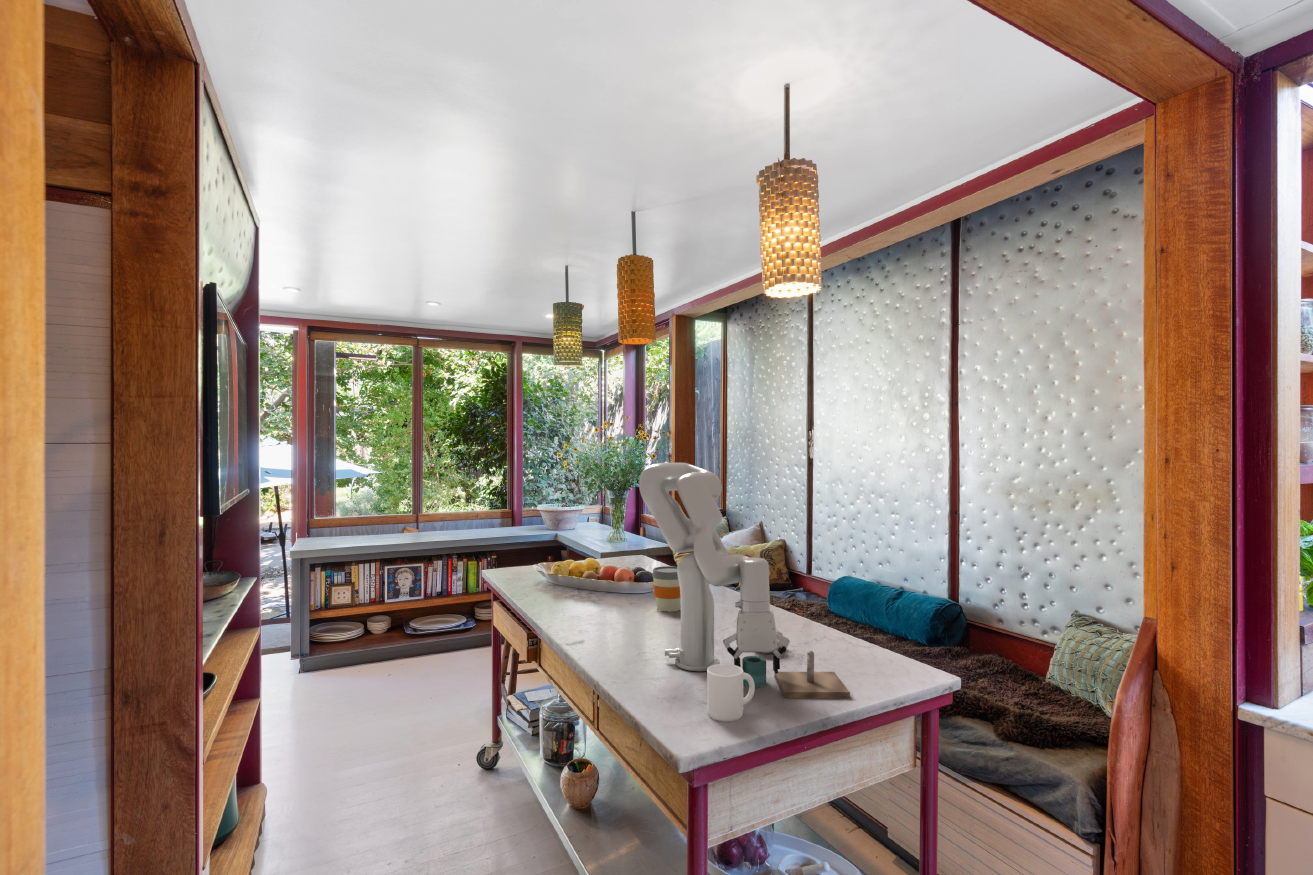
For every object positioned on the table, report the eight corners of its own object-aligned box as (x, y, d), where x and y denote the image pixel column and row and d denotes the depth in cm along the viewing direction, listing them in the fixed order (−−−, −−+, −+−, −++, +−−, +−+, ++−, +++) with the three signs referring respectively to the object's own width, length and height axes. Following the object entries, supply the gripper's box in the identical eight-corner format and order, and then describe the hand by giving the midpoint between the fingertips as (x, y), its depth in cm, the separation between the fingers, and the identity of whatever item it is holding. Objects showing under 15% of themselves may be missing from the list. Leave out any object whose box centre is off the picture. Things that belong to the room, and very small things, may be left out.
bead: (744, 686, 163) (744, 663, 163) (741, 678, 169) (741, 655, 169) (767, 687, 163) (767, 663, 163) (763, 678, 169) (763, 655, 169)
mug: (745, 702, 153) (745, 659, 153) (764, 716, 146) (764, 671, 146) (701, 710, 149) (701, 666, 149) (717, 724, 141) (717, 678, 141)
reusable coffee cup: (691, 607, 243) (691, 568, 243) (674, 614, 232) (674, 573, 233) (663, 603, 250) (663, 564, 250) (645, 610, 239) (645, 570, 239)
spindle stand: (784, 697, 156) (784, 659, 156) (774, 677, 170) (774, 641, 170) (849, 698, 156) (849, 659, 156) (834, 677, 170) (834, 642, 170)
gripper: (723, 610, 162) (725, 677, 162) (791, 608, 162) (793, 676, 162) (720, 603, 170) (722, 668, 169) (785, 602, 170) (787, 666, 169)
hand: (757, 672), depth 165 cm, fingers open, 9 cm apart
